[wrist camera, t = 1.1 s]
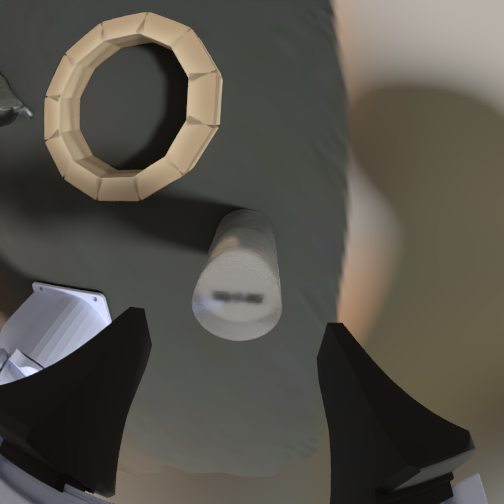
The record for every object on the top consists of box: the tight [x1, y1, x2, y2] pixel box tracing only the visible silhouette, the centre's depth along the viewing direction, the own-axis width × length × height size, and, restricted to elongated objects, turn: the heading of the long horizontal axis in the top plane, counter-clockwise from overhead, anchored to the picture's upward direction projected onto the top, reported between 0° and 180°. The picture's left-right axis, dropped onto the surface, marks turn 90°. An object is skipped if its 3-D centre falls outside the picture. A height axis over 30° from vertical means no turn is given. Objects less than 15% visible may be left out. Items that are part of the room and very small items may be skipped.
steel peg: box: [192, 209, 282, 341], centre depth 16 cm, size 4×4×8 cm
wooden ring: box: [44, 12, 223, 201], centre depth 14 cm, size 12×12×2 cm
